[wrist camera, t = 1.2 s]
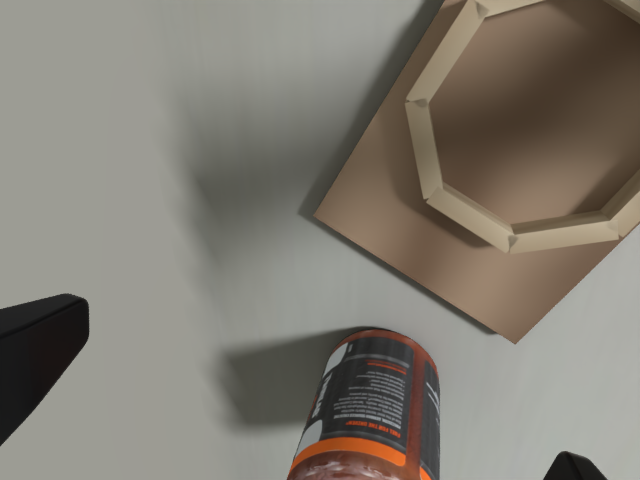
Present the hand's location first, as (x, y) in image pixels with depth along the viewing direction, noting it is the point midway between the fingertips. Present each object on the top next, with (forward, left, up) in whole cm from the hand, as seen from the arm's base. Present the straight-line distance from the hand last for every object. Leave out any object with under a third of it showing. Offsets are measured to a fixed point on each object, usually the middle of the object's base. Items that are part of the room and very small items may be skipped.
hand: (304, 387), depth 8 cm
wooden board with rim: (-4, -6, -14) cm, 15 cm away
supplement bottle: (-6, +9, -14) cm, 17 cm away
